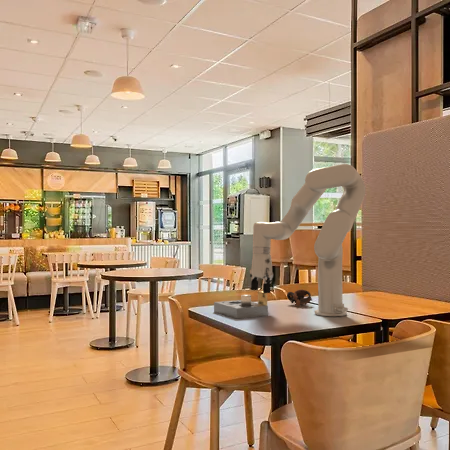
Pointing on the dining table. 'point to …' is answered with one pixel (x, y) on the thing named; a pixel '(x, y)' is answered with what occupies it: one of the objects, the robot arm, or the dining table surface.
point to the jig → (241, 308)
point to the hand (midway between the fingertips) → (260, 291)
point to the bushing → (262, 298)
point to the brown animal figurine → (299, 297)
